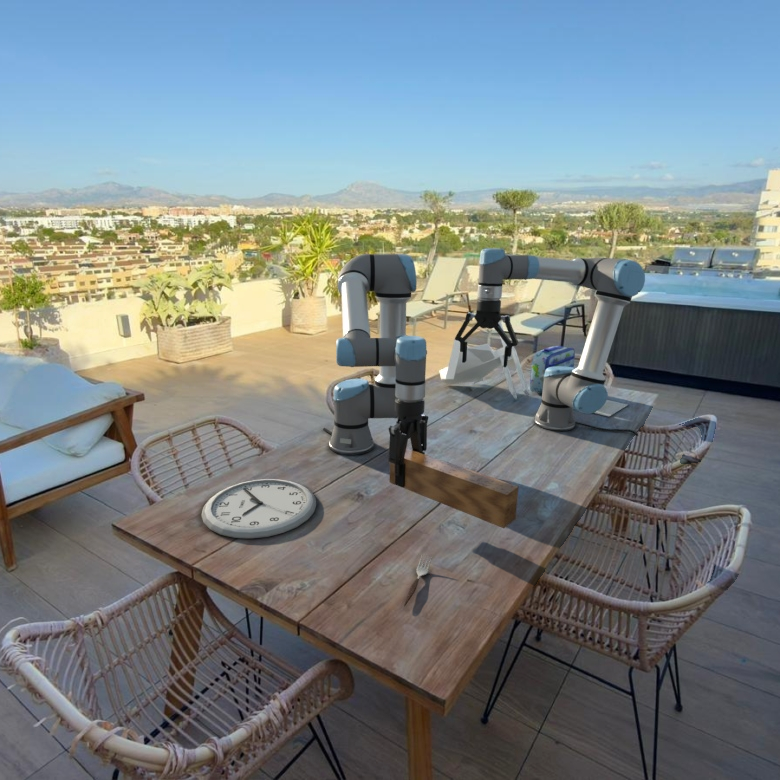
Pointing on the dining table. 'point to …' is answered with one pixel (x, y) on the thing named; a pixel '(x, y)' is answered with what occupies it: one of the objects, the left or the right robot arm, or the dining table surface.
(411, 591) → the fork
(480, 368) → the white plastic object
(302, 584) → the dining table surface
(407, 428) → the left robot arm
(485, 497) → the bar
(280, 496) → the wall clock
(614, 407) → the invitation card
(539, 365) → the lunch box
